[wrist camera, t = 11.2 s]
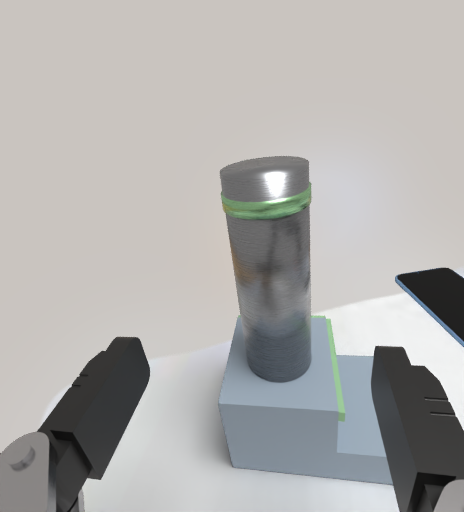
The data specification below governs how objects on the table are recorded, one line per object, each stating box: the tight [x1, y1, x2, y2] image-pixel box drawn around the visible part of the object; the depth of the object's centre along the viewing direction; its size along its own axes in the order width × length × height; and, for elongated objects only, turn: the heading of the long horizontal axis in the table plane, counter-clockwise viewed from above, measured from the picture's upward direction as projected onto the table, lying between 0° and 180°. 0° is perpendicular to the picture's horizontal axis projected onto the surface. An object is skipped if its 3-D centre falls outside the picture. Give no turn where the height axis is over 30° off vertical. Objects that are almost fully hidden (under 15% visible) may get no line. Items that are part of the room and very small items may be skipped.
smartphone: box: [395, 268, 464, 347], centre depth 33 cm, size 7×1×15 cm
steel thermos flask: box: [220, 156, 312, 383], centre depth 19 cm, size 5×5×13 cm
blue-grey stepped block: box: [218, 315, 393, 485], centre depth 23 cm, size 12×8×7 cm
